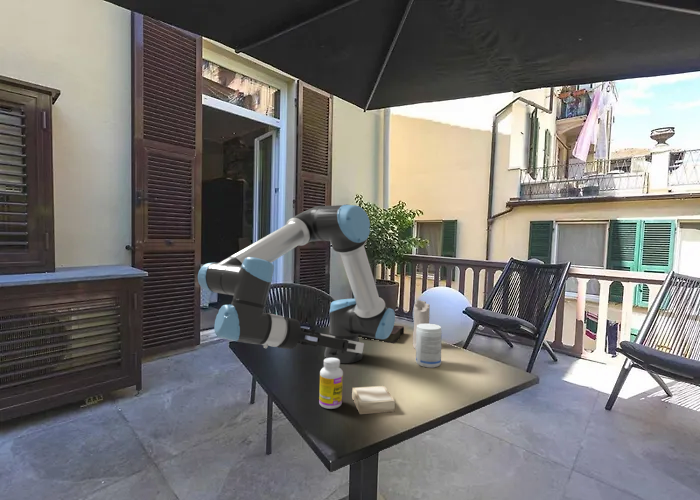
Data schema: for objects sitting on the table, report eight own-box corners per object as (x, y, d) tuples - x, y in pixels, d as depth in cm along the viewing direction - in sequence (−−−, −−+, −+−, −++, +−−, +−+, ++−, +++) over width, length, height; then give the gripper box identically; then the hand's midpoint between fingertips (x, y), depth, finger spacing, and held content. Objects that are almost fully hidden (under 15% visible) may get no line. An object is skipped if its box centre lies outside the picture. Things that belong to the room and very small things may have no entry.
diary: (357, 329, 185) (357, 319, 185) (403, 335, 176) (404, 325, 176) (343, 337, 168) (343, 327, 168) (394, 345, 159) (394, 334, 158)
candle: (414, 351, 149) (415, 304, 148) (412, 341, 163) (413, 299, 162) (431, 352, 148) (433, 305, 148) (428, 342, 162) (429, 299, 161)
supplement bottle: (333, 412, 96) (334, 366, 96) (314, 405, 100) (315, 361, 99) (346, 402, 102) (347, 359, 101) (328, 396, 105) (329, 354, 105)
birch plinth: (352, 397, 105) (352, 387, 105) (383, 395, 107) (384, 385, 107) (359, 414, 96) (360, 403, 95) (394, 411, 98) (394, 400, 97)
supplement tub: (446, 365, 134) (447, 327, 133) (428, 370, 128) (429, 330, 128) (427, 357, 142) (428, 322, 141) (410, 362, 136) (411, 324, 136)
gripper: (256, 340, 95) (320, 350, 107) (301, 356, 75) (373, 367, 87) (263, 312, 97) (325, 325, 109) (309, 321, 77) (379, 336, 89)
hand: (347, 344), depth 98 cm, fingers open, 13 cm apart
